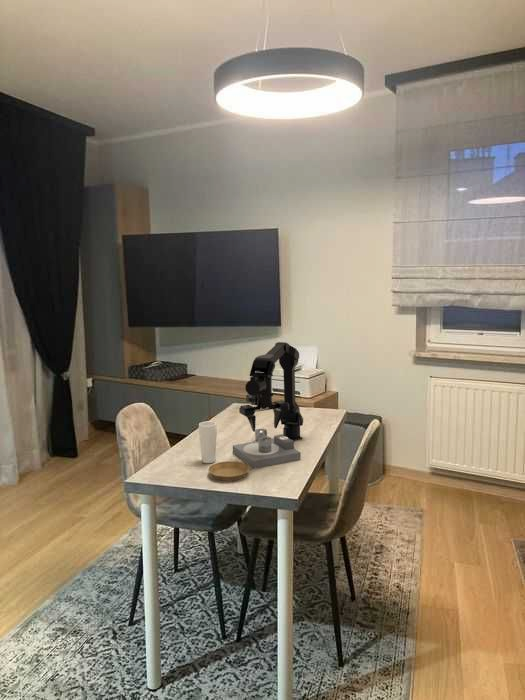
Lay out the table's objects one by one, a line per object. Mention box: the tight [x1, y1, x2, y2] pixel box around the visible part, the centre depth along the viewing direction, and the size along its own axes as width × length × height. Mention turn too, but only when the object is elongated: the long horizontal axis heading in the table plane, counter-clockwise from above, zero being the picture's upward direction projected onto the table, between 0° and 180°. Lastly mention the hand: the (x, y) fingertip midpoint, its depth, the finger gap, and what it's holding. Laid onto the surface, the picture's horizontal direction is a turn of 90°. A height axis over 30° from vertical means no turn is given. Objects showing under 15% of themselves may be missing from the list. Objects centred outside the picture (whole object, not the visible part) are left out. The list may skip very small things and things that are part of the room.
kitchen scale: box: [232, 434, 302, 470], centre depth 207 cm, size 20×20×6 cm
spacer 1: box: [254, 428, 268, 442], centre depth 225 cm, size 5×5×5 cm
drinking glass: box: [198, 420, 218, 464], centre depth 202 cm, size 7×7×15 cm
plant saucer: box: [207, 460, 251, 482], centre depth 189 cm, size 15×15×3 cm
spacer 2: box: [258, 435, 272, 453], centre depth 203 cm, size 5×5×5 cm
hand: (264, 429), depth 202 cm, fingers open, 9 cm apart
